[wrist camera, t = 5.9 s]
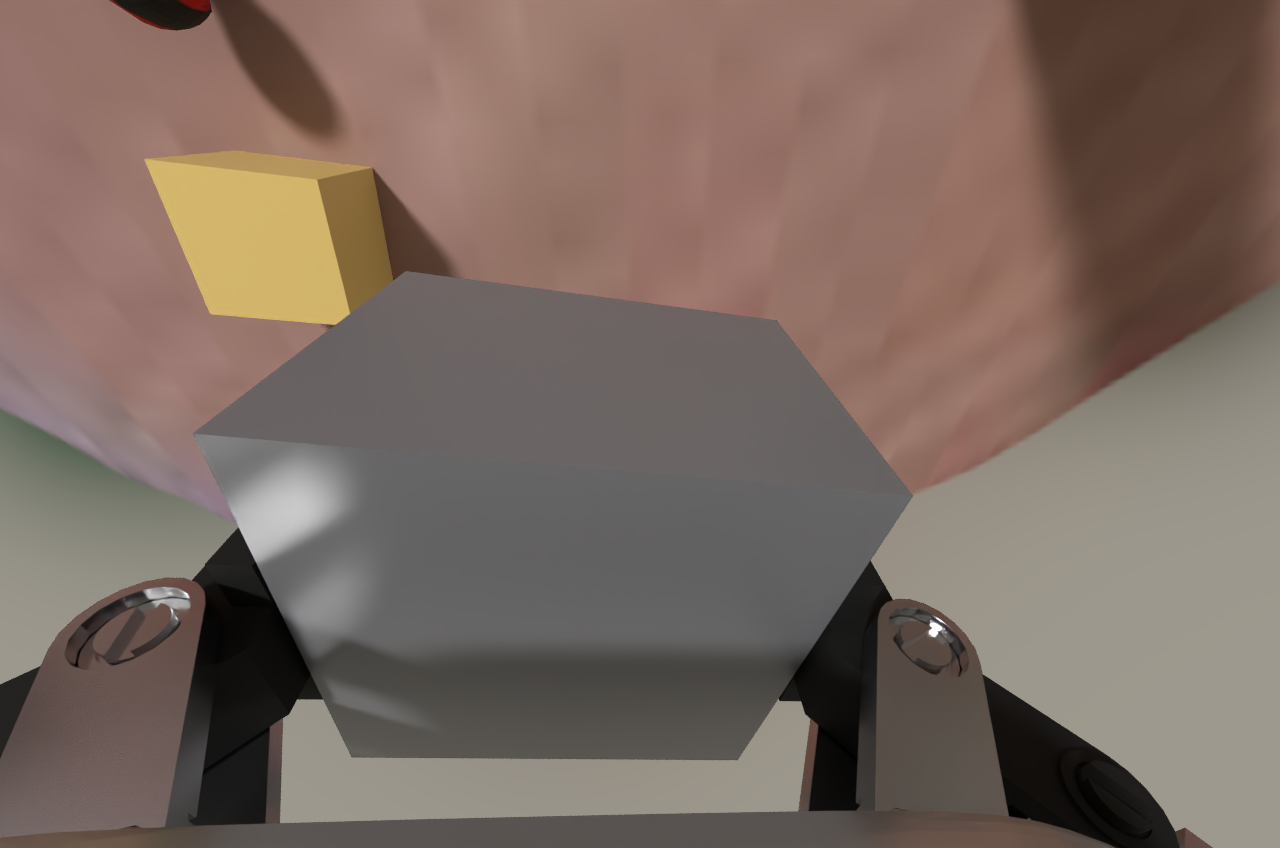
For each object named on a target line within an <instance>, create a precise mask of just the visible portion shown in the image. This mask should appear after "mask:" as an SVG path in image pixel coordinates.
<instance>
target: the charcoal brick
mask: <svg viewBox="0 0 1280 848" xmlns="http://www.w3.org/2000/svg"><path fill="white" fill-rule="evenodd" d="M193 435H194V437H195V439H196V441H197V443H198V445H199V447H200V450H201V452H202V454H203V456H204V458H205V460H206V462H207V464H208V466H209V468H210V470H211V472H212V474H213V476H214V478H215V480H216V482H217V484H218V486H219V488H220V490H221V492H222V494H223V496H224V498H225V500H226V502H227V504H228V506H229V509H230V511H231V513H232V515H233V517H234V519H235V521H236V523H237V525H238V527H239V529H240V531H241V533H242V535H243V537H244V539H245V541H246V543H247V545H248V547H249V549H250V551H251V553H252V555H253V557H254V559H255V561H256V563H257V565H258V568H259V570H260V572H261V574H262V576H263V578H264V580H265V582H266V584H267V586H268V588H269V590H270V592H271V594H272V596H273V598H274V600H275V602H276V604H277V606H278V608H279V610H280V612H281V614H282V616H283V618H284V620H285V622H286V624H287V627H288V629H289V631H290V633H291V635H292V637H293V639H294V641H295V643H296V645H297V647H298V649H299V651H300V653H301V655H302V657H303V659H304V661H305V663H306V665H307V667H308V669H309V671H310V673H311V675H312V677H313V679H314V681H315V683H316V686H317V688H318V690H319V692H320V694H321V696H322V698H323V700H324V702H325V704H326V706H327V708H328V710H329V712H330V714H331V716H332V718H333V720H334V722H335V724H336V726H337V728H338V730H339V732H340V734H341V736H342V738H343V740H344V742H345V744H346V746H347V748H348V750H349V753H350V755H351V757H370V758H374V757H377V758H379V757H380V758H383V757H384V758H510V759H512V758H515V759H516V758H517V759H650V760H655V759H656V760H662V759H663V760H664V759H665V760H738V759H739V757H740V756H741V754H742V753H743V751H744V750H745V748H746V747H747V745H748V744H749V742H750V741H751V739H752V738H753V736H754V735H755V733H756V732H757V730H758V728H759V727H760V726H761V724H762V723H763V721H764V720H765V718H766V717H767V715H768V714H769V712H770V711H771V709H772V708H773V706H774V705H775V703H776V701H777V700H778V699H779V697H780V695H781V694H782V692H783V691H784V689H785V688H786V686H787V685H788V683H789V682H790V680H791V679H792V677H793V676H794V674H795V673H796V671H797V670H798V668H799V667H800V665H801V664H802V662H803V661H804V659H805V658H806V656H807V655H808V653H809V652H810V650H811V649H812V647H813V646H814V644H815V643H816V641H817V640H818V638H819V637H820V635H821V634H822V632H823V631H824V629H825V628H826V626H827V625H828V623H829V622H830V620H831V619H832V617H833V616H834V614H835V613H836V611H837V610H838V608H839V607H840V605H841V604H842V602H843V601H844V599H845V598H846V596H847V595H848V593H849V592H850V590H851V589H852V587H853V586H854V584H855V583H856V581H857V580H858V578H859V577H860V575H861V574H862V572H863V571H864V569H865V568H866V566H867V565H868V563H869V562H870V560H871V559H872V557H873V556H874V554H875V553H876V551H877V550H878V548H879V547H880V545H881V543H882V542H883V541H884V539H885V537H886V536H887V535H888V533H889V532H890V530H891V528H892V527H893V525H894V524H895V523H896V521H897V519H898V518H899V517H900V515H901V513H902V512H903V510H904V509H905V507H906V506H907V504H908V503H909V501H910V500H911V498H912V497H913V495H912V494H911V493H910V491H909V490H908V489H907V487H906V486H905V485H904V484H903V482H902V481H901V480H900V478H899V477H898V476H897V475H896V473H895V472H894V471H893V469H892V468H891V467H890V466H889V464H888V463H887V462H886V460H885V459H884V458H883V457H882V455H881V454H880V453H879V451H878V450H877V449H876V448H875V446H874V445H873V444H872V442H871V441H870V440H869V439H868V437H867V436H866V435H865V433H864V432H863V431H862V430H861V428H860V427H859V426H858V424H857V423H856V422H855V421H854V419H853V418H852V417H851V415H850V414H849V413H848V412H847V410H846V409H845V408H844V406H843V405H842V404H841V403H840V401H839V400H838V399H837V397H836V396H835V395H834V394H833V392H832V391H831V390H830V388H829V387H828V386H827V385H826V383H825V382H824V381H823V379H822V378H821V377H820V376H819V374H818V373H817V372H816V370H815V369H814V368H813V367H812V365H811V364H810V363H809V361H808V360H807V359H806V358H805V356H804V355H803V354H802V352H801V351H800V350H799V349H798V347H797V346H796V345H795V343H794V342H793V341H792V340H791V338H790V337H789V336H788V334H787V333H786V332H785V331H784V329H783V328H782V327H781V325H780V324H779V323H778V322H777V320H769V319H762V318H754V317H747V316H739V315H732V314H724V313H717V312H709V311H702V310H695V309H687V308H680V307H672V306H665V305H657V304H650V303H642V302H635V301H627V300H620V299H612V298H605V297H597V296H590V295H582V294H575V293H567V292H560V291H552V290H545V289H537V288H530V287H522V286H515V285H507V284H500V283H492V282H485V281H477V280H470V279H462V278H455V277H447V276H440V275H432V274H425V273H417V272H410V271H405V272H404V273H403V274H401V275H400V276H399V277H397V278H396V279H395V280H394V281H392V282H391V283H390V284H388V285H387V286H386V287H384V288H383V289H382V290H380V291H379V292H378V293H376V294H375V295H374V296H373V297H371V298H370V299H369V300H367V301H366V302H365V303H363V304H362V305H361V306H359V307H358V308H357V309H356V310H354V311H353V312H352V313H350V314H349V315H348V316H346V317H345V318H344V319H342V320H341V321H340V322H338V323H337V324H336V325H335V326H333V327H332V328H331V329H329V330H328V331H327V332H325V333H324V334H323V335H321V336H320V337H319V338H317V339H316V340H315V341H314V342H312V343H311V344H310V345H308V346H307V347H306V348H304V349H303V350H302V351H300V352H299V353H298V354H296V355H295V356H294V357H293V358H291V359H290V360H289V361H287V362H286V363H285V364H283V365H282V366H281V367H279V368H278V369H277V370H276V371H274V372H273V373H272V374H270V375H269V376H268V377H266V378H265V379H264V380H262V381H261V382H260V383H258V384H257V385H256V386H255V387H253V388H252V389H251V390H249V391H248V392H247V393H245V394H244V395H243V396H241V397H240V398H239V399H237V400H236V401H235V402H234V403H232V404H231V405H230V406H228V407H227V408H226V409H224V410H223V411H222V412H220V413H219V414H218V415H216V416H215V417H214V418H213V419H211V420H210V421H209V422H207V423H206V424H205V425H203V426H202V427H201V428H199V429H198V430H197V431H196V432H194V433H193Z"/></svg>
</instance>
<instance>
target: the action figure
mask: <svg viewBox="0 0 1280 848" xmlns="http://www.w3.org/2000/svg"><path fill="white" fill-rule="evenodd" d="M110 1H111V2H113V3H114V4H116V5H118V6H119V7H121V8H122V9H124V10H125V11H127V12H128V13H130V14H131V15H133V16H134V17H136V18H137V19H139V20H140V21H142V22H144V23H146V24H149V25H152V26H154V27H157V28H160V29H167V30H183V29H190V28H193V27H195V26H198V25H200V24H201V23H202V22H203V21H205V20H206V19H207V18H208V16H209V15H210V13H211V12H212V10H211V4H210V0H110Z"/></svg>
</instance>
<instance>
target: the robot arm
mask: <svg viewBox="0 0 1280 848" xmlns="http://www.w3.org/2000/svg"><path fill="white" fill-rule="evenodd" d="M297 699H323V698H322V696H321V694H320V692H319V690H318V688H317V686H316V683H315V681H314V679H313V677H312V675H311V673H310V671H309V669H308V667H307V665H306V663H305V661H304V659H303V657H302V655H301V653H300V651H299V649H298V647H297V645H296V643H295V641H294V639H293V637H292V635H291V633H290V631H289V629H288V627H287V624H286V622H285V620H284V618H283V616H282V614H281V612H280V610H279V608H278V606H277V604H276V602H275V600H274V598H273V596H272V594H271V592H270V590H269V588H268V586H267V584H266V582H265V580H264V578H263V576H262V574H261V572H260V570H259V568H258V565H257V563H256V561H255V559H254V557H253V555H252V553H251V551H250V549H249V547H248V545H247V543H246V541H245V539H244V537H243V535H242V533H241V531H240V529H239V527H238V528H237V529H236V531H235V532H234V533H233V534H232V535H231V536H230V537H229V538H228V539H227V540H226V542H225V543H224V544H223V545H222V546H221V547H220V548H219V549H218V551H217V552H216V553H215V554H214V555H213V556H212V557H211V558H210V559H209V560H208V562H207V563H206V564H205V566H204V568H203V569H202V570H201V571H200V572H199V573H198V574H197V575H196V576H195V578H194V579H193V580H192V581H191V580H188V579H185V578H162V579H156V580H151V581H146V582H142V583H139V584H136V585H134V586H131V587H128V588H125V589H122V590H120V591H118V592H116V593H114V594H112V595H110V596H108V597H106V598H104V599H102V600H100V601H98V602H97V603H95V604H94V605H92V606H91V607H89V608H88V609H87V610H85V611H83V612H82V613H81V614H79V615H78V616H76V617H75V618H74V619H73V620H72V621H71V622H70V623H69V624H68V625H67V626H66V627H65V628H64V629H63V630H62V631H61V632H60V633H59V634H58V635H57V637H56V638H55V640H54V641H53V643H52V644H51V646H50V647H49V649H48V651H47V653H46V655H45V658H44V660H43V662H42V664H41V666H40V667H38V668H35V669H33V670H31V671H29V672H27V673H24V674H22V675H20V676H18V677H16V678H13V679H11V680H9V681H7V682H5V683H3V684H0V848H1212V847H1211V846H1210V845H1208V844H1207V843H1206V842H1204V841H1203V840H1201V839H1200V838H1199V837H1197V836H1196V835H1195V834H1193V833H1192V832H1190V831H1189V830H1188V829H1186V828H1183V829H1181V830H1178V831H1176V832H1175V831H1174V829H1173V827H1172V825H1171V823H1170V822H1169V820H1168V818H1167V816H1166V814H1165V813H1164V811H1163V809H1162V808H1161V807H1160V806H1159V804H1158V803H1157V802H1156V801H1155V799H1154V798H1153V797H1152V795H1151V794H1150V793H1149V792H1148V790H1147V789H1146V788H1145V787H1144V786H1143V785H1142V784H1141V783H1139V781H1138V780H1137V779H1135V777H1134V776H1133V775H1131V774H1130V773H1129V772H1128V771H1127V770H1126V769H1125V768H1123V767H1122V766H1120V765H1119V764H1118V763H1117V762H1115V761H1114V760H1113V759H1111V758H1110V757H1109V756H1107V755H1106V754H1104V753H1103V752H1101V751H1100V750H1098V749H1097V748H1095V747H1094V746H1092V745H1091V744H1089V743H1087V742H1086V741H1084V740H1083V739H1081V738H1080V737H1078V736H1077V735H1075V734H1073V733H1072V732H1070V731H1069V730H1068V729H1066V728H1064V727H1063V726H1061V725H1060V724H1058V723H1057V722H1055V721H1054V720H1052V719H1051V718H1049V717H1048V716H1046V715H1044V714H1043V713H1041V712H1040V711H1038V710H1037V709H1035V708H1034V707H1032V706H1031V705H1029V704H1028V703H1026V702H1024V701H1023V700H1021V699H1020V698H1018V697H1017V696H1015V695H1014V694H1012V693H1011V692H1009V691H1007V690H1006V689H1004V688H1003V687H1001V686H1000V685H998V684H997V683H995V682H994V681H992V680H991V679H989V678H987V677H986V676H984V675H983V674H982V670H981V665H980V661H979V658H978V655H977V652H976V649H975V648H974V646H973V645H972V643H971V642H970V640H969V639H968V637H967V636H966V634H965V633H964V632H963V631H962V630H961V629H960V628H959V627H958V626H957V625H956V624H955V623H954V622H953V621H951V620H950V619H949V618H948V617H946V616H945V615H944V614H942V613H941V612H939V611H938V610H936V609H934V608H932V607H930V606H928V605H926V604H924V603H920V602H917V601H913V600H910V599H895V600H893V599H892V597H891V596H890V594H889V592H888V590H887V589H886V587H885V585H884V583H883V582H882V580H881V578H880V576H879V575H878V573H877V571H876V570H875V568H874V566H873V564H872V563H871V561H870V562H869V563H868V565H867V566H866V568H865V569H864V571H863V572H862V574H861V575H860V577H859V578H858V580H857V581H856V583H855V584H854V586H853V587H852V589H851V590H850V592H849V593H848V595H847V596H846V598H845V599H844V601H843V602H842V604H841V605H840V607H839V608H838V610H837V611H836V613H835V614H834V616H833V617H832V619H831V620H830V622H829V623H828V625H827V626H826V628H825V629H824V631H823V632H822V634H821V635H820V637H819V638H818V640H817V641H816V643H815V644H814V646H813V647H812V649H811V650H810V652H809V653H808V655H807V656H806V658H805V659H804V661H803V662H802V664H801V665H800V667H799V668H798V670H797V671H796V673H795V674H794V676H793V677H792V679H791V680H790V682H789V683H788V685H787V686H786V688H785V689H784V691H783V692H782V694H781V695H780V697H779V700H780V701H801V702H802V705H803V708H804V712H805V714H806V715H807V716H808V717H809V718H810V727H809V734H808V742H807V749H806V758H805V764H804V773H803V780H802V787H801V795H800V802H799V811H798V812H744V813H743V812H742V813H691V814H690V813H689V814H688V813H687V814H640V815H639V814H638V815H592V816H552V817H550V816H549V817H548V816H547V817H505V818H463V819H421V820H420V819H419V820H386V821H385V820H384V821H350V822H349V821H347V822H312V823H280V802H281V801H280V800H281V768H282V734H283V718H284V717H285V716H287V715H288V714H289V713H290V711H291V710H292V708H293V706H294V704H295V702H296V700H297Z"/></svg>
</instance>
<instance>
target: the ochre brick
mask: <svg viewBox="0 0 1280 848" xmlns="http://www.w3.org/2000/svg"><path fill="white" fill-rule="evenodd" d="M144 160H145V162H146V164H147V167H148V169H149V171H150V174H151V176H152V178H153V181H154V183H155V185H156V188H157V190H158V192H159V195H160V197H161V199H162V202H163V204H164V207H165V209H166V211H167V214H168V216H169V218H170V221H171V223H172V225H173V228H174V230H175V232H176V235H177V237H178V239H179V242H180V244H181V246H182V249H183V251H184V253H185V256H186V258H187V260H188V263H189V265H190V267H191V270H192V272H193V274H194V277H195V279H196V281H197V284H198V286H199V288H200V291H201V293H202V295H203V298H204V300H205V303H206V305H207V307H208V310H209V312H210V314H215V315H227V316H238V317H250V318H262V319H273V320H285V321H296V322H308V323H319V324H331V325H336V324H337V323H338V322H340V321H341V320H342V319H344V318H345V317H346V316H348V315H349V314H350V313H352V312H353V311H354V310H356V309H357V308H358V307H359V306H361V305H362V304H363V303H365V302H366V301H367V300H369V299H370V298H371V297H373V296H374V295H375V294H376V293H378V292H379V291H380V290H382V289H383V288H384V287H386V286H387V285H388V284H390V283H391V282H392V281H393V276H392V271H391V266H390V260H389V255H388V249H387V244H386V239H385V233H384V228H383V222H382V217H381V212H380V206H379V201H378V195H377V190H376V185H375V179H374V174H373V169H372V167H364V166H356V165H348V164H340V163H332V162H323V161H315V160H307V159H299V158H291V157H283V156H274V155H266V154H258V153H250V152H242V151H225V152H215V153H204V154H194V155H183V156H173V157H162V158H152V159H144Z"/></svg>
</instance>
